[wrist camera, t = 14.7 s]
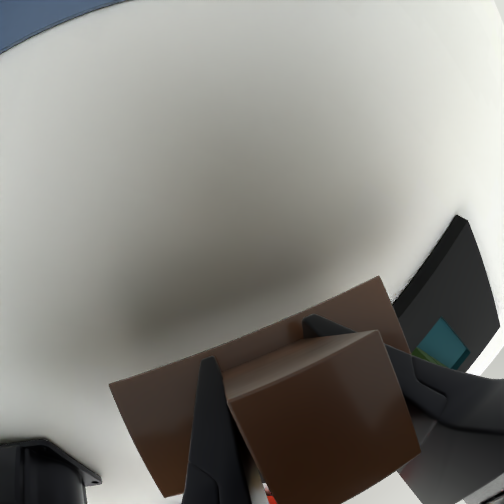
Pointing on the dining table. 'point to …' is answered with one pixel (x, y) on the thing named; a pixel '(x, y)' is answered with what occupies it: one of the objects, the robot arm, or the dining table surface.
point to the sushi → (449, 303)
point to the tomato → (271, 500)
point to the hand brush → (290, 403)
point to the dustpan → (39, 16)
